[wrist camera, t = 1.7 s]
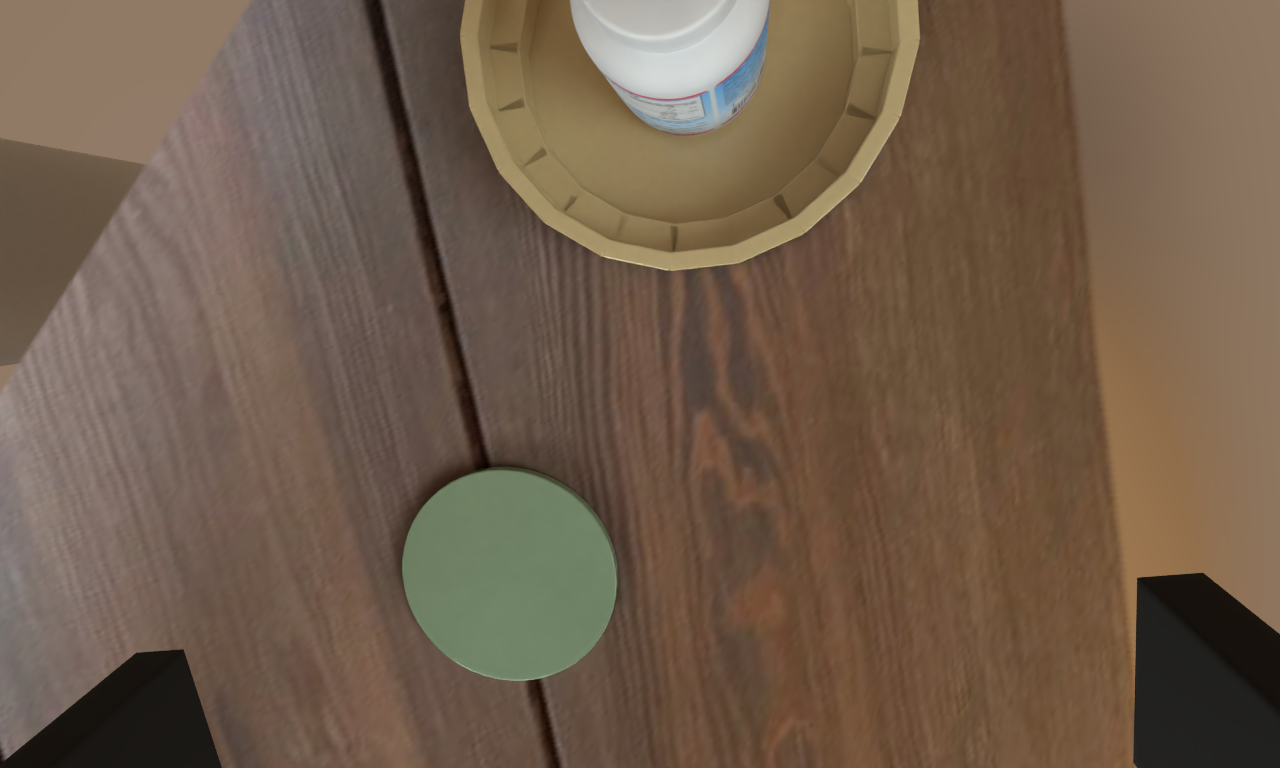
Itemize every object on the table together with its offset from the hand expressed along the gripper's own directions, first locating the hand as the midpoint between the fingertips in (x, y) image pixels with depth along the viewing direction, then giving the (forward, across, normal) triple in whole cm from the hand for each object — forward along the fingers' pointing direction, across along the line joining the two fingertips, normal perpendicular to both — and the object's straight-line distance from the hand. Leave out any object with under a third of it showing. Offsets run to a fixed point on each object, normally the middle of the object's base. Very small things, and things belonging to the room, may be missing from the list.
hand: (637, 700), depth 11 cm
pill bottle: (+24, +1, +11) cm, 27 cm away
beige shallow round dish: (+24, +1, +11) cm, 27 cm away
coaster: (+22, -9, -9) cm, 26 cm away
